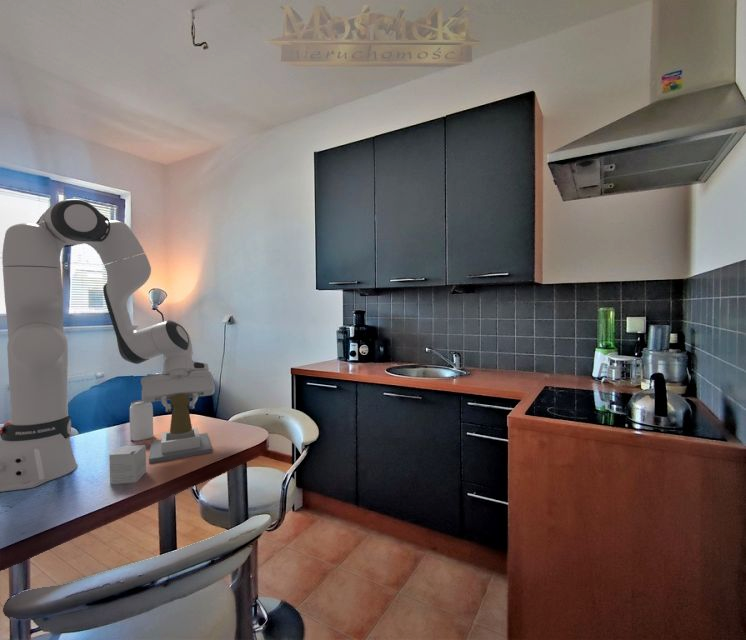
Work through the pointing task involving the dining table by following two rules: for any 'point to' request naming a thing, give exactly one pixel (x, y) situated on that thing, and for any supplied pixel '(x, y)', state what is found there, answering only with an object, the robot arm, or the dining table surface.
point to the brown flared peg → (180, 414)
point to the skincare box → (127, 464)
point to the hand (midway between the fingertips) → (180, 409)
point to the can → (141, 420)
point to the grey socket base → (179, 446)
